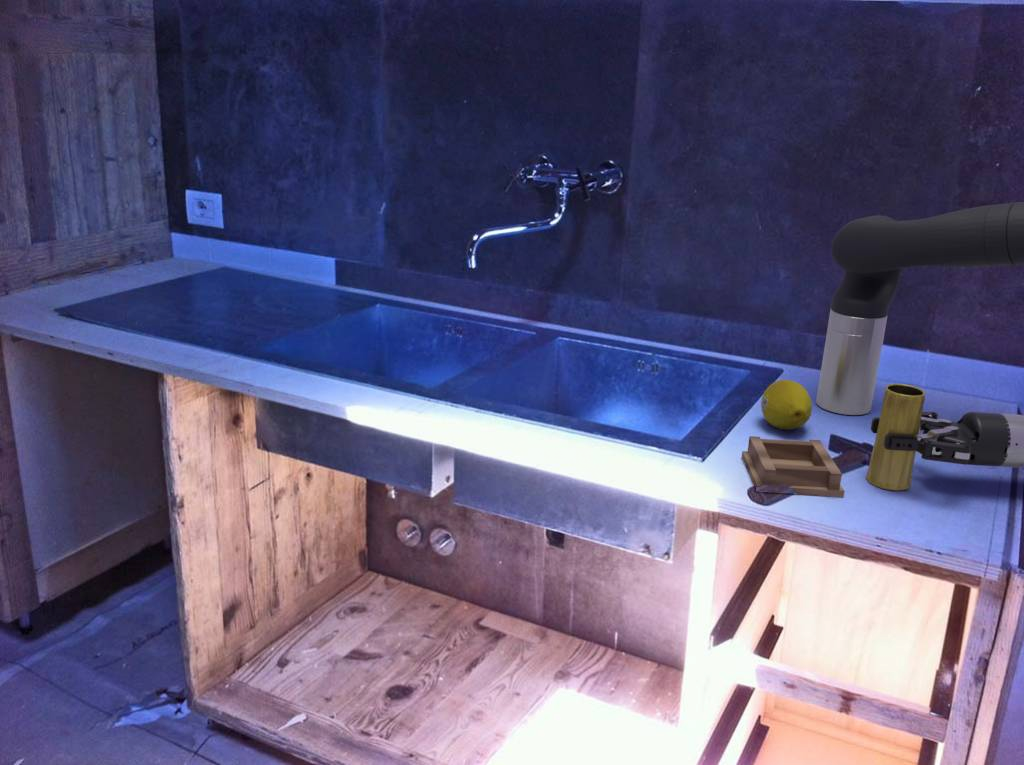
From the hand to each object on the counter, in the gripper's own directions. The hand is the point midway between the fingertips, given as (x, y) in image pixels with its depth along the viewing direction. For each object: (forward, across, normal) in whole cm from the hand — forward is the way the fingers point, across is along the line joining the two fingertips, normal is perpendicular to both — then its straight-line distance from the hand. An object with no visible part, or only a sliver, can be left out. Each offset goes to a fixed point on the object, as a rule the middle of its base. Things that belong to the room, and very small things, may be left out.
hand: (879, 433), depth 133 cm
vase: (-3, 0, +8) cm, 8 cm away
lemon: (+8, -19, +8) cm, 22 cm away
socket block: (+11, 0, +8) cm, 14 cm away
